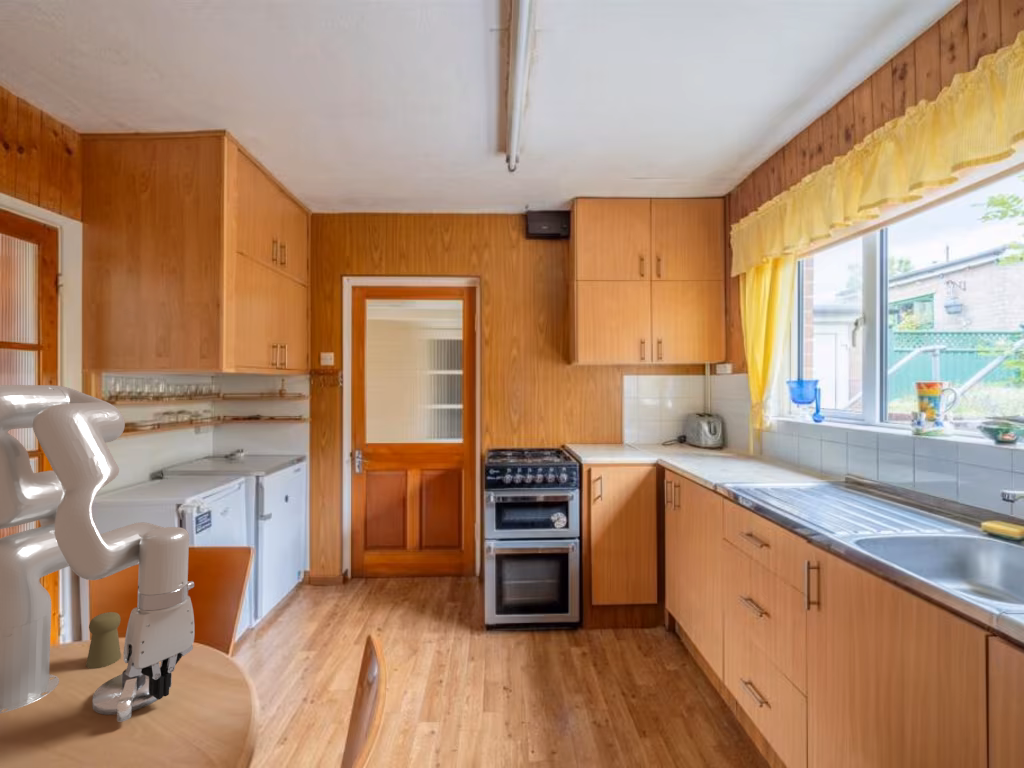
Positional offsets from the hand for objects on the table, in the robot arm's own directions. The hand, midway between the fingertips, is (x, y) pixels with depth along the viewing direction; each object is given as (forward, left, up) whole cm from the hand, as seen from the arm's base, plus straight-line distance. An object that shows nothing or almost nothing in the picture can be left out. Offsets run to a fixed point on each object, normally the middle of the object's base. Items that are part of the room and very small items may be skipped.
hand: (159, 694), depth 90 cm
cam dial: (-6, +1, -2) cm, 7 cm away
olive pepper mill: (-21, +15, -4) cm, 26 cm away
